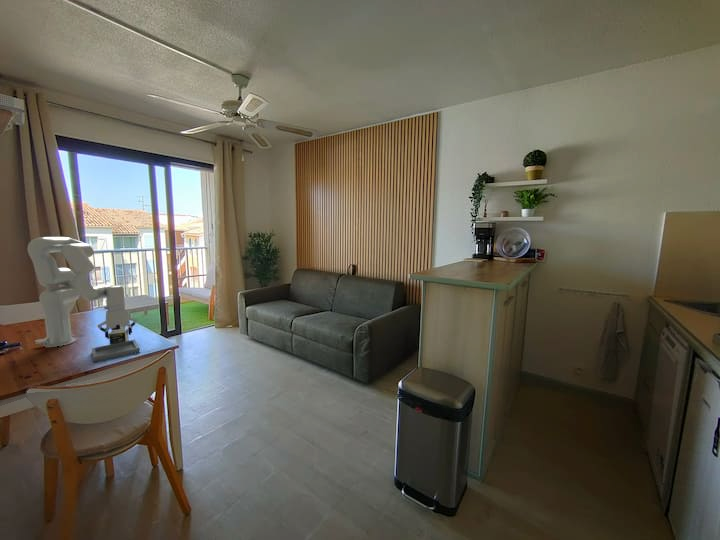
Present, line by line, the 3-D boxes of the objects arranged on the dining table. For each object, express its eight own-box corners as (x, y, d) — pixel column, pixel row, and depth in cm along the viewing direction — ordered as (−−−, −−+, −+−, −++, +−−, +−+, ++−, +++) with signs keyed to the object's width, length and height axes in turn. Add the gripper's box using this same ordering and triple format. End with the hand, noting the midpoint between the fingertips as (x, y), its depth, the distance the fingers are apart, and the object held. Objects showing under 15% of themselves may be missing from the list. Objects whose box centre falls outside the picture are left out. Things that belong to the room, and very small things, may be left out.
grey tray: (93, 362, 140) (93, 357, 140) (92, 352, 151) (91, 348, 151) (139, 352, 153) (139, 347, 152) (135, 343, 164) (134, 339, 163)
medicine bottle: (109, 346, 160) (107, 325, 159) (113, 341, 167) (111, 321, 165) (125, 343, 164) (124, 323, 162) (129, 339, 170) (127, 320, 168)
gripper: (96, 311, 154) (99, 342, 156) (136, 305, 166) (139, 334, 168) (95, 308, 159) (98, 338, 161) (134, 303, 171) (136, 331, 173)
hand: (119, 336), depth 165 cm, fingers open, 9 cm apart
